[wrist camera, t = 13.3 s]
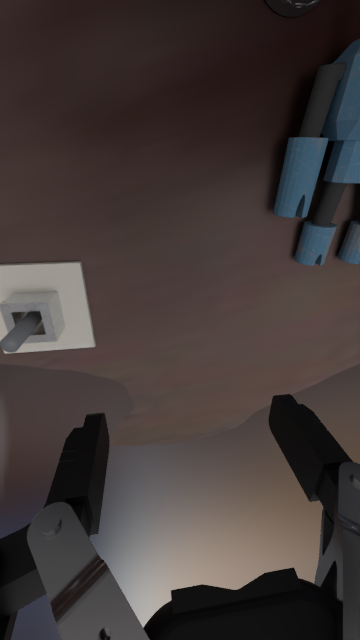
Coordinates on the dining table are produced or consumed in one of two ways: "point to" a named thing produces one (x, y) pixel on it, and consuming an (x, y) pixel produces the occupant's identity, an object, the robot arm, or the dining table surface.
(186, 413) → the dining table surface
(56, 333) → the collar
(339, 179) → the toy
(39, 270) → the post
